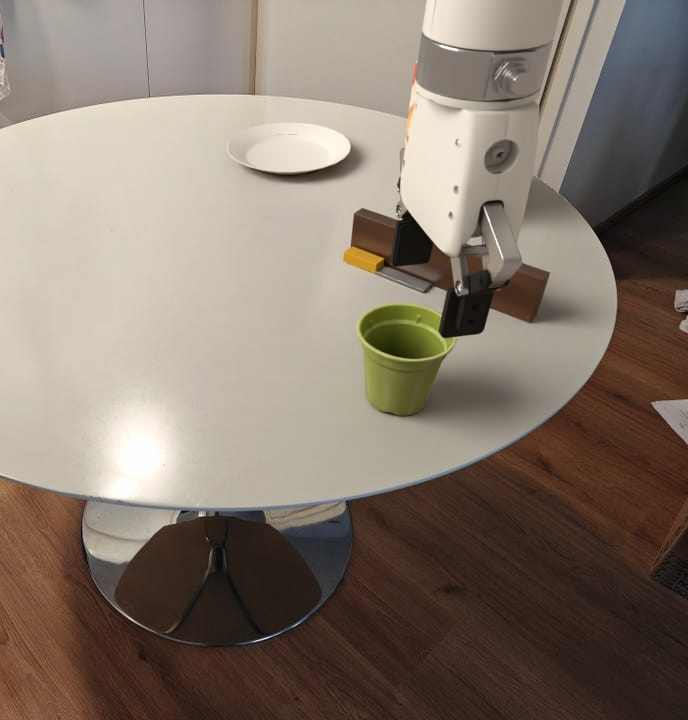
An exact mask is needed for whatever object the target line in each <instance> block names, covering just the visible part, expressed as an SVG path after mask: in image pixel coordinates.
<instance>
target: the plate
mask: <svg viewBox="0 0 688 720" xmlns="http://www.w3.org/2000/svg"><path fill="white" fill-rule="evenodd" d="M276 134H284V135H276ZM287 134H298V135H287ZM271 135H273V136H271ZM266 136H268V137H266ZM351 149H352V146H351V143H350V140H349V139H348V138H347V137H346V136H345V135H344V134H342V133H340V132H339V131H337V130H335V129H332V128H329V127H326V126H323V125H317V124H313V123H306V122H305V123H304V122H275V123H274V122H272V123H266V124H260V125H256V126H252V127H249V128H245V129H244V130H242V131H239V132H237V133H236V134H235V135H234V136H232V137H231V138H229V141H228V143H227V144H226V152H227V153H228V155H229V157H231V158H232V159H233V160H234V161H236V162H237V163H239V164H241V165H244V166H246V167H248V168H252V169H255V170H259V171H262V172H266V173H268V174H274V175H291V176H292V175H301V174H306V173H311V172H314V171H317V170H321V169H325V168H328V167H331V166H334V165H336V164H339V162H341V161H343V160H345V159H346V158H347V156H348V155H349V154H350V152H351Z"/></svg>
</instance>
